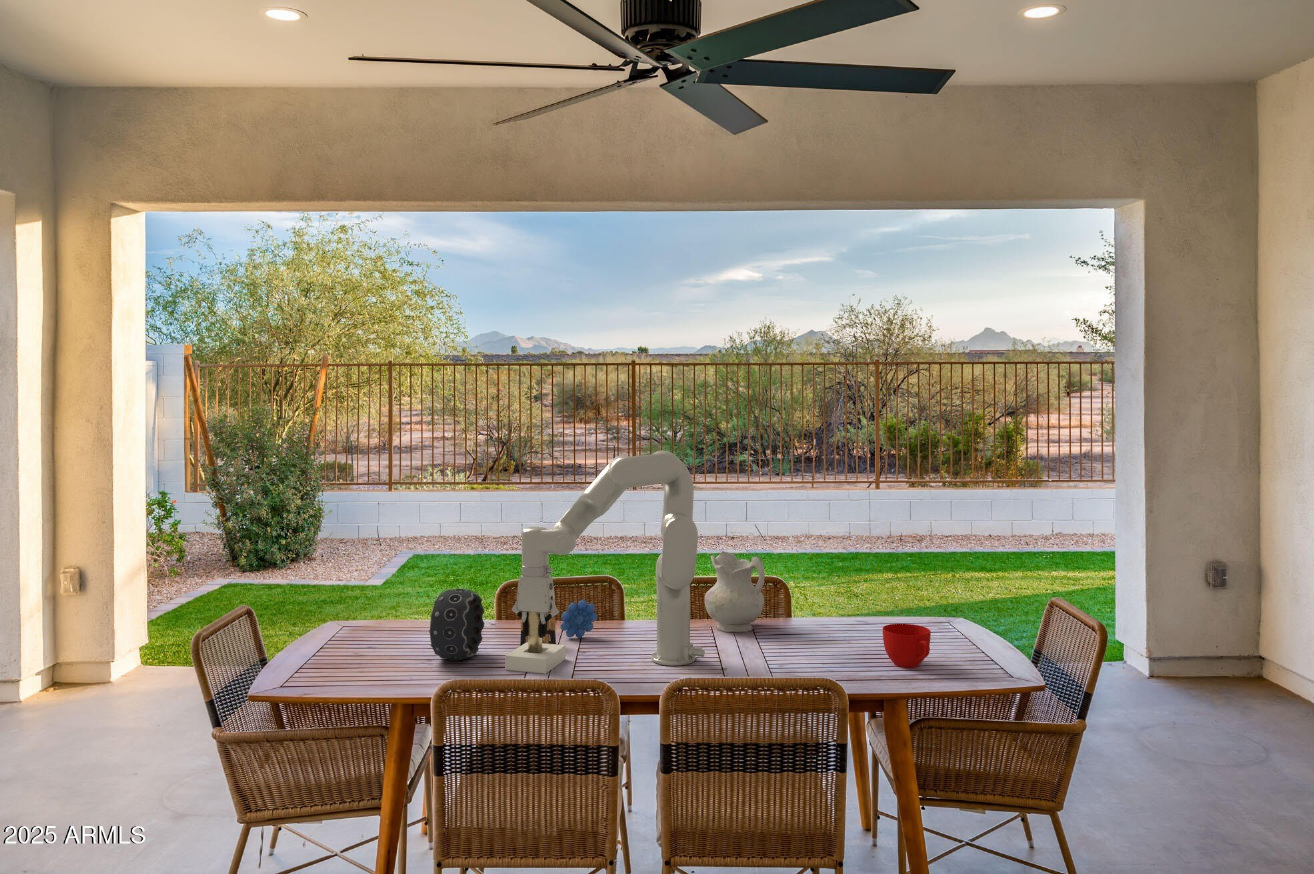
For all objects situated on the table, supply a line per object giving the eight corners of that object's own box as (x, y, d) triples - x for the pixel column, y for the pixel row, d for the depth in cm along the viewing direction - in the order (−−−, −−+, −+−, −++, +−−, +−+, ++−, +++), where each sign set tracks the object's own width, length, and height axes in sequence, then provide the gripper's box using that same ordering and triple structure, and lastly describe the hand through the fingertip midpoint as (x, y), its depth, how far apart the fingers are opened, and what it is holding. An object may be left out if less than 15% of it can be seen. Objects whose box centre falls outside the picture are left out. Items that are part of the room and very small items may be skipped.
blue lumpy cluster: (595, 633, 273) (595, 596, 273) (598, 638, 267) (598, 600, 266) (559, 635, 271) (559, 597, 271) (561, 640, 265) (560, 602, 264)
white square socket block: (565, 659, 245) (565, 645, 245) (545, 673, 232) (545, 659, 232) (527, 655, 249) (527, 642, 249) (505, 669, 235) (505, 655, 235)
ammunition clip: (520, 647, 258) (519, 607, 257) (520, 645, 259) (520, 606, 259) (555, 646, 258) (555, 607, 258) (556, 645, 260) (556, 606, 259)
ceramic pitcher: (779, 630, 281) (781, 554, 282) (753, 639, 264) (756, 558, 265) (721, 622, 292) (723, 549, 293) (693, 630, 276) (695, 552, 277)
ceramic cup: (906, 678, 228) (907, 640, 228) (873, 660, 244) (873, 625, 244) (948, 673, 231) (949, 637, 231) (913, 656, 248) (913, 622, 247)
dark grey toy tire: (427, 668, 237) (426, 596, 236) (451, 648, 257) (451, 582, 256) (464, 669, 236) (464, 597, 235) (486, 649, 256) (486, 582, 255)
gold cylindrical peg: (544, 650, 242) (544, 607, 241) (538, 653, 238) (538, 611, 237) (531, 648, 243) (531, 606, 242) (525, 652, 239) (525, 610, 238)
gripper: (568, 570, 241) (568, 635, 241) (513, 567, 245) (513, 630, 246) (557, 575, 234) (557, 642, 234) (502, 572, 238) (502, 637, 239)
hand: (535, 635), depth 240 cm, fingers closed on gold cylindrical peg, 4 cm apart
